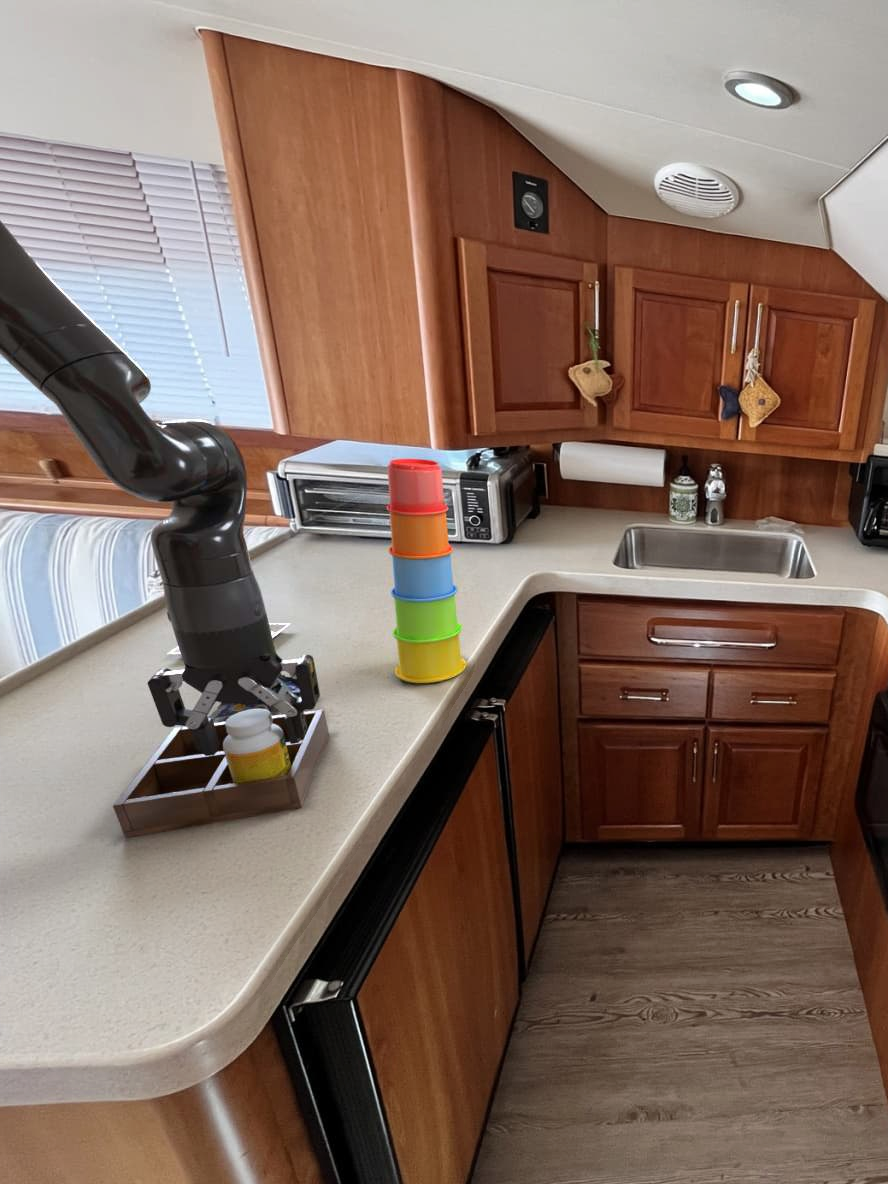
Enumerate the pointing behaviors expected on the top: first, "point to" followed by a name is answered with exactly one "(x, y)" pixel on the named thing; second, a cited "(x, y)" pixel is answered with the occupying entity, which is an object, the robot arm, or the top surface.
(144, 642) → the top surface
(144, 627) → the top surface
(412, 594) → the stacking cups
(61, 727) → the top surface
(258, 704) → the snack package
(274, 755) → the supplement bottle
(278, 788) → the compartment tray
